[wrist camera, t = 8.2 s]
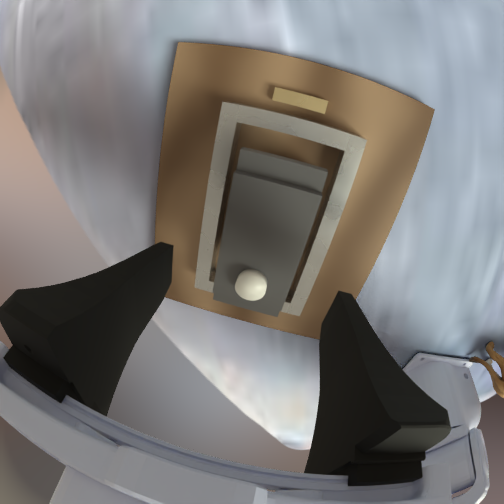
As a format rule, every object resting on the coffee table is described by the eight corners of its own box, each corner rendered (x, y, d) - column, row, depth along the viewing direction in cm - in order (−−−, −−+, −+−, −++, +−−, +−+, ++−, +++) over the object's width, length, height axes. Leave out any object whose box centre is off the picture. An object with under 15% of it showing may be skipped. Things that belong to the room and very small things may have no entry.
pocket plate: (428, 108, 14) (445, 111, 11) (330, 333, 24) (331, 355, 22) (184, 44, 14) (167, 38, 12) (159, 286, 25) (147, 304, 23)
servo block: (321, 153, 16) (330, 179, 11) (283, 274, 21) (275, 330, 16) (256, 136, 16) (235, 153, 11) (230, 259, 21) (207, 311, 16)
